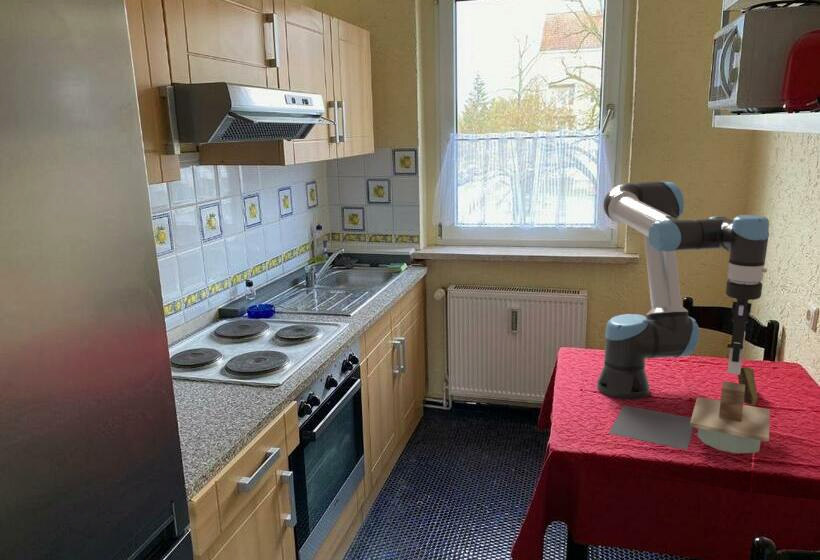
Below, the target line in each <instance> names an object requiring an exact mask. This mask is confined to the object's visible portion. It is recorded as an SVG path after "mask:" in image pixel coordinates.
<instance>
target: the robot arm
mask: <svg viewBox="0 0 820 560" xmlns="http://www.w3.org/2000/svg"><path fill="white" fill-rule="evenodd" d="M603 199H604V200H603V210H604V213H605V215H606V216H607V217H608V218H609V219H610V220H611V221H613V222H615V223H617V224H625V225H627V226H628V227H631V228H632V229H633V230H636V231H637V232H639V233H641V234H642V235H643V241H644V249H645V260H646V261H645V262H646V268H647V270H646V271H647V278H648V279H647V280H648V289H649V296H650V297H649V298H650V306H651V307H650V308H651V309H649V310H648V312H647V313H646V316H645V315H642V314H638V313H634V314H633V313H625V314H618V315H614V316H613V317H611V318H610V319H608V321H607V323H606V327H605V333H604V338H605V340H604V360H603V361H604V362H603V366H602V369H601V372H600V375H599V377H598V378H597V379H598V380H597V383H596V385H597V391H599V392H600V393H601V394H602V395H605V396H607V397H609V398H613V399H618V400H627V401H628V400H630V401H632V400H640V399H643V398H646V397H648V395H650V388H651V387H650V383H649V380H648V376H647V373H646V367H645V366H646V360H647V359H662V358H664V359H665V358H680V357H686V356H687V357H688V356H690V355H691V354H693V353H694V352H695V351H696V348H697V347H698V344H699V339H700V329H699V325H698V323H697V321H696V319H695V318H693V317H691V316H689V310H688V309H686V308H685V307H684V306H683V304H682V294H681V285H680V280H679V279H680V277H679V269H678V268H679V267H678V261H677V259H678V258H677V252H676V251H693V250H697V251H698V250H718V249H719V250H725V251H728V252H729V260H728V265H727V274H726V277H727V278H728V280H726V285H725V287H726V288H725V295H726V296H727V297H729V298H731V299H732V298H734V299H736V301H732V307H731V312H732V317H731V322H733V325H732V326H733V327H732V333H731V342H730V343H727V344H726V345H727V348H728V349H729V354H728V355H729V357H728V365H727V374H734V375H737V376H738V375H740V372H741V368H742V362H743V356H744V349H745V348H744V347H745V338H746V331H749V330H750V329H749V328H750V326H749V325H747V324H748V323H749V317H750V316H749V315H750V314H751V311H752V303H750V302H749V301H754V300H759V299H761V297H762V292H763V290H762V289H763V283H762V281H763V278H764V274H765V273H767V272H768V269H767V268H765V264H766V256H767V249H768V242H769V237H770V232H769V230H770V229H769V228H770V220H769V218H767V217H766V216H763V215H756V214H740V215H736V216H734V218H733V219H731V218H728V217H726V216H718V215H717V216H714V215H713V216H710V217H708V218H705V219H704V218H703V219H702V218H701V219H679V218H681V216H682V215H683V213H684V208H685V201H684V200H685V199H684V195H683V193H682V191H681V189H680V187H679V186H678V185H676V184H675V183H674V182H672V181H661V180H660V181H646V182H644V181H643V182H625V183H621V184H618V185H616V186H614V187H613V188H611V189H610V190H609V191H608V192H607V194H606V195H605V196H604V198H603Z"/></svg>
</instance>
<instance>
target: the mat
mask: <svg viewBox="0 0 820 560" xmlns="http://www.w3.org/2000/svg"><path fill="white" fill-rule="evenodd" d="M691 418H692V417H688V416H683V415H679V414H674V413H667V412H661V411H656V410H650V409H645V408H640V407H635V406H630V405H622V407H621V409H620V411H619V413H618V415H617V417H616V419H615V420H614V422H613V424H612V426H611V428H610V430H609V431H608V434H610V435H613V436H619V437H623V438H628V439H633V440H637V441H642V442H647V443H652V444H657V445H662V446H667V447H672V448H676V449H679V450H680V449H681V450H686V451H688V449H689V445H690V442H691V438H692V434H693V429H694V427H690V421H691Z"/></svg>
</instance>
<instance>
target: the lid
mask: <svg viewBox="0 0 820 560" xmlns="http://www.w3.org/2000/svg"><path fill="white" fill-rule="evenodd" d="M744 393H745V384H739V382H730V381H725V380H723V381H722V385H721V393H720V400H717V399H711V398H706V397H700V396H697V397H696V401H695V404H694V407H693V410H692V416H691V417H690V418H691V421H690V427H693V428H696V429H698V428H700V429H705V430H711V431H716V432H721V433H726V434H731V435H737V436H742V437H747V438H752V439H757V440H761V442H762V441H763V442H767V443H768V442H769V441H770V415H771V413H770V411H771V409H769V408H764V407H758V406H754V405H749V404H748V405H747V404H744V403H745V402H744Z"/></svg>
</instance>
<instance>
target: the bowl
mask: <svg viewBox="0 0 820 560" xmlns="http://www.w3.org/2000/svg"><path fill="white" fill-rule="evenodd" d="M697 437H698V439H699V440H700V441H701V442H703V444H704V445H706V446H709V447H711V448H714V449H715V450H718V451H722V452H727V453H731V454H752V455H753V454H757V452H759V451H760V448H761V442H762V440H757V439H752V438H747V437H742V436H737V435H731V434H726V433H721V432H716V431H711V430H705V429H700V428H697Z"/></svg>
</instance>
